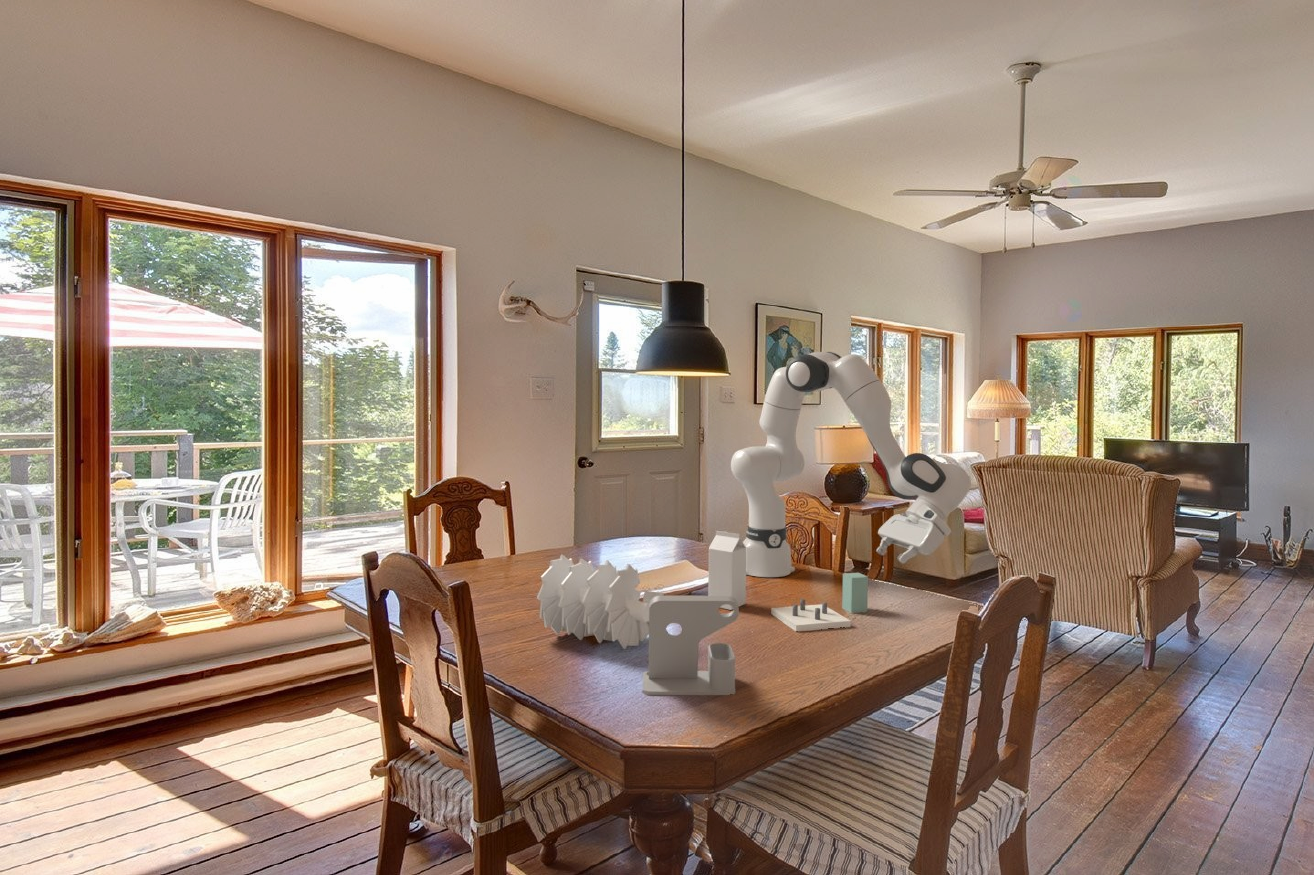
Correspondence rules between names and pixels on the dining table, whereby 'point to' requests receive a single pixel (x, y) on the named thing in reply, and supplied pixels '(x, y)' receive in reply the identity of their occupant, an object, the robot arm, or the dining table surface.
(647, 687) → the grey mounting bracket
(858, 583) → the block
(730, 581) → the milk carton
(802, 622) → the peg board
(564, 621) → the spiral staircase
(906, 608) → the dining table surface
